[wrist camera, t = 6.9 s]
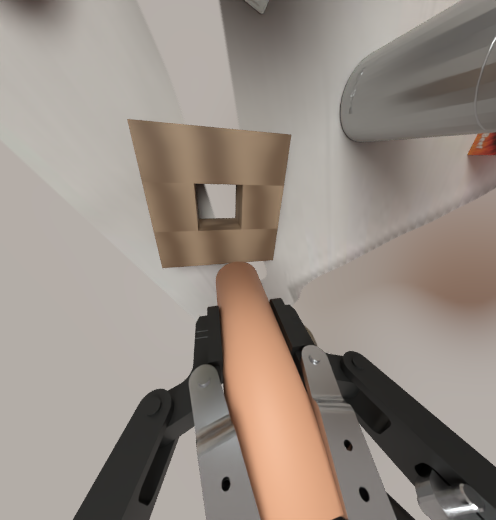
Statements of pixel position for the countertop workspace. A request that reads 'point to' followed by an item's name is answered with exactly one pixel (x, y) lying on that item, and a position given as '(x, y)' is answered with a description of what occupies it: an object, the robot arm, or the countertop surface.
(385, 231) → the countertop surface
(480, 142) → the pasta box
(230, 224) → the socket block
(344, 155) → the countertop surface
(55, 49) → the countertop surface
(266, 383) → the peg
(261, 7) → the supplement box
